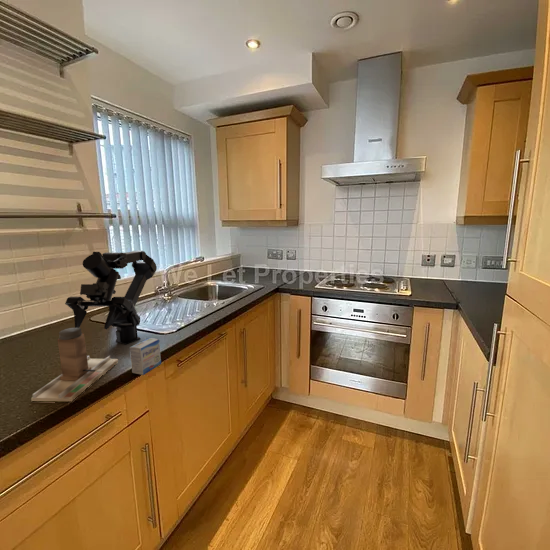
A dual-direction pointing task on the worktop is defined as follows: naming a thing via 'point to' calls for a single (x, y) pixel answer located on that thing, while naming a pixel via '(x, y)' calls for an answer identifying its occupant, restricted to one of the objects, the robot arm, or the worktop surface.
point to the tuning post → (73, 354)
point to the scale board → (74, 382)
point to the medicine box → (145, 356)
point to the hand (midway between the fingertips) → (90, 328)
